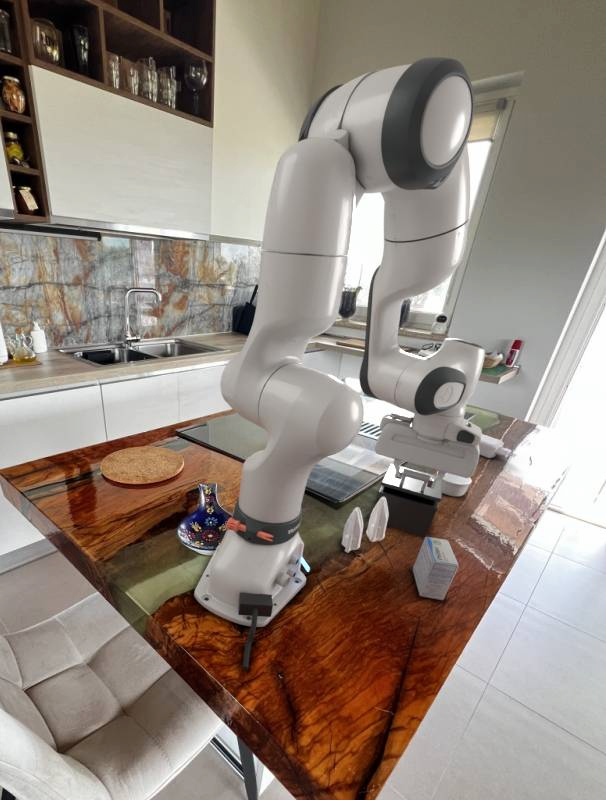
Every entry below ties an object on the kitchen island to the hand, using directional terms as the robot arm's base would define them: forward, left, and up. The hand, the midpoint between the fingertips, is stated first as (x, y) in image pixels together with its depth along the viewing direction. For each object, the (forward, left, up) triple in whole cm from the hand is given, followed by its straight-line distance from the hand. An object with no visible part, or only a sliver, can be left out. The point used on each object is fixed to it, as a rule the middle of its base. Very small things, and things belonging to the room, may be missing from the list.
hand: (413, 482), depth 92 cm
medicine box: (-19, -8, -12) cm, 24 cm away
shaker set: (-12, +6, -12) cm, 18 cm away
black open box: (+6, 0, -12) cm, 13 cm away
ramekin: (+27, -10, -12) cm, 31 cm away
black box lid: (+6, 0, -3) cm, 6 cm away
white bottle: (+64, -21, -12) cm, 69 cm away
